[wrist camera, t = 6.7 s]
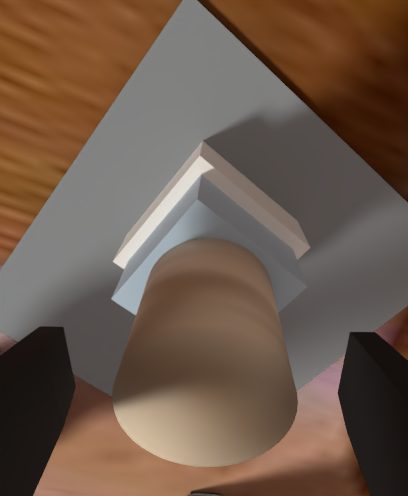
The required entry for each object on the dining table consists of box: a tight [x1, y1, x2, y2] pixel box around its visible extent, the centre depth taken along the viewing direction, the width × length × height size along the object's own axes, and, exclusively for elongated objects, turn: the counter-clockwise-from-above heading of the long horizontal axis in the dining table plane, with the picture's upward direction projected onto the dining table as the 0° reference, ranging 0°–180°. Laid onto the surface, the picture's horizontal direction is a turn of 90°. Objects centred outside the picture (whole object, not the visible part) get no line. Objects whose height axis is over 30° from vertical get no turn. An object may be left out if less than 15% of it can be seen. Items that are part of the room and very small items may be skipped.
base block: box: [113, 141, 310, 269], centre depth 18 cm, size 6×6×3 cm
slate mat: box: [0, 0, 408, 397], centre depth 21 cm, size 20×18×1 cm
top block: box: [111, 174, 308, 315], centre depth 15 cm, size 5×5×3 cm
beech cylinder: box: [112, 238, 298, 467], centre depth 12 cm, size 4×4×5 cm
